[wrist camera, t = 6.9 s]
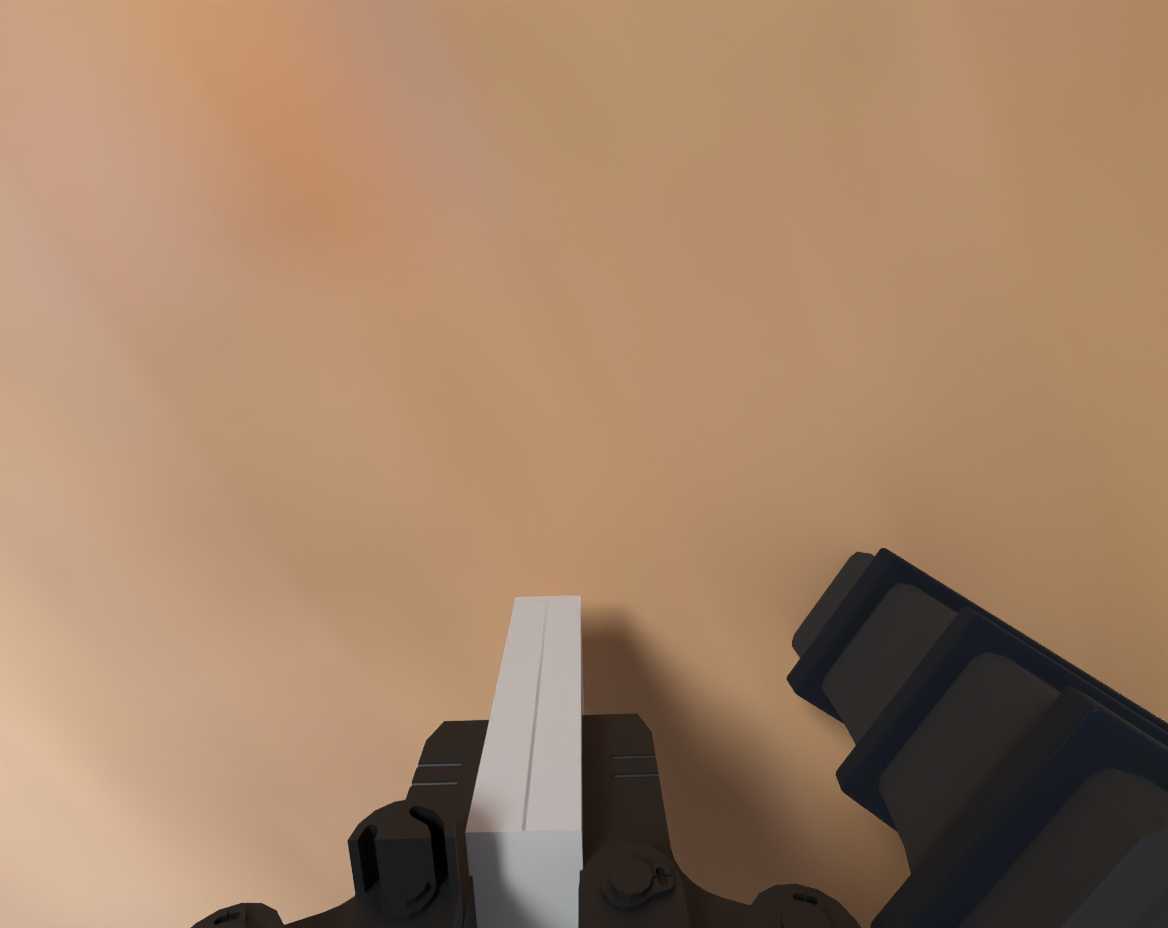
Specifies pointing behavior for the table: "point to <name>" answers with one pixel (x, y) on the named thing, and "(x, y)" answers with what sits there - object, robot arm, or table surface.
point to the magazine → (987, 759)
